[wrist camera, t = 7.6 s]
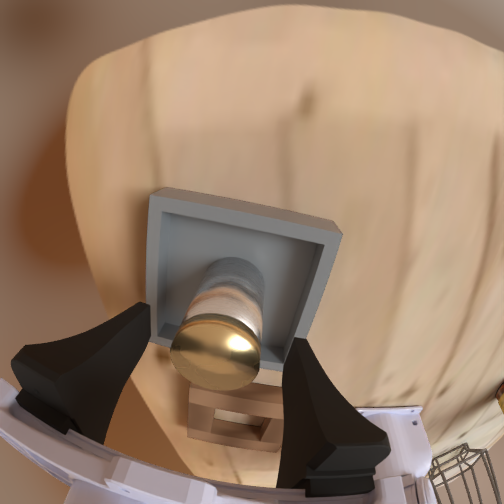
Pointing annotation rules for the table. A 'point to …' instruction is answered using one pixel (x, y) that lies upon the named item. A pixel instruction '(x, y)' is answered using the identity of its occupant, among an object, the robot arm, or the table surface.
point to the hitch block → (240, 401)
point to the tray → (240, 246)
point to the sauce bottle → (501, 397)
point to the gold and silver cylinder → (222, 327)
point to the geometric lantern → (477, 451)
